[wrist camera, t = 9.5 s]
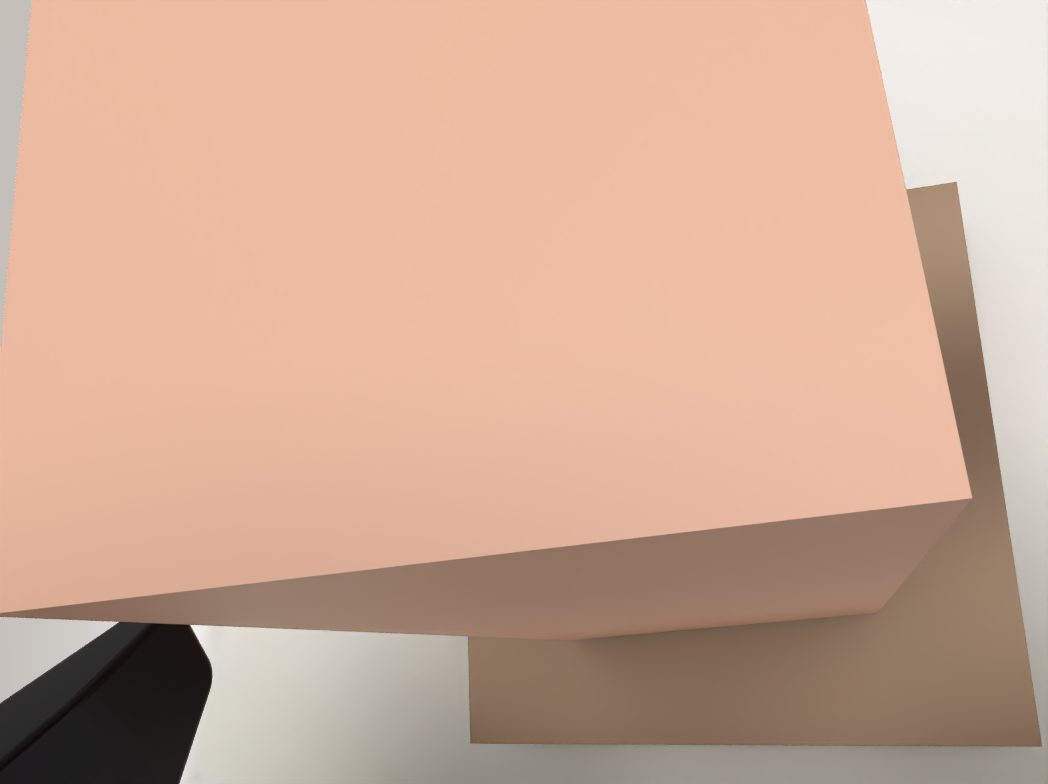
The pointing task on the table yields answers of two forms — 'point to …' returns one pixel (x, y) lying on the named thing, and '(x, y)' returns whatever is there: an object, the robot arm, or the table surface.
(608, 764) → the table surface
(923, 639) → the walnut slab
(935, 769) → the table surface
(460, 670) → the table surface
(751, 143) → the terracotta block
